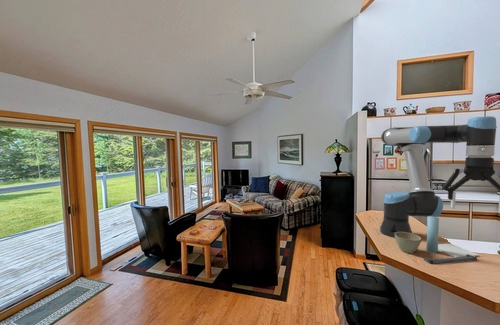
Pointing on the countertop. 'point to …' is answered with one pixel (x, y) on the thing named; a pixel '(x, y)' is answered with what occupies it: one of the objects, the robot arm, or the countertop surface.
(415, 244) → the beige bowl
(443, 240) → the countertop surface
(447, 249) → the coaster
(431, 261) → the rail
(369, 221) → the countertop surface
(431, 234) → the dowel
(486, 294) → the countertop surface
